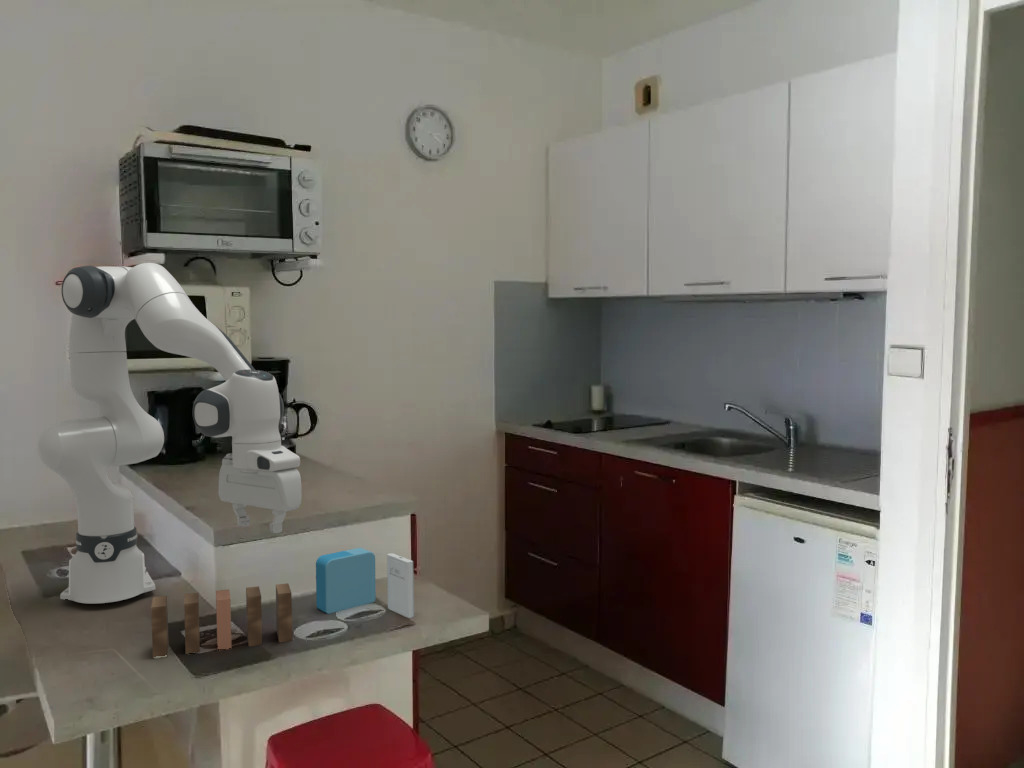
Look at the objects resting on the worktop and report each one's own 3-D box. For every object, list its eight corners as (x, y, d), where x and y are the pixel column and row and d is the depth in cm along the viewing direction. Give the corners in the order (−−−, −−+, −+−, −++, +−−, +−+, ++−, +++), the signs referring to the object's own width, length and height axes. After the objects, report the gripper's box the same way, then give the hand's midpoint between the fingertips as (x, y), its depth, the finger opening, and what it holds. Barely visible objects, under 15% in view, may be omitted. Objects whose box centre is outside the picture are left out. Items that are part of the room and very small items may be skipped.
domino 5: (279, 645, 158) (278, 593, 157) (276, 634, 163) (275, 584, 163) (292, 644, 159) (291, 592, 158) (289, 633, 164) (288, 583, 163)
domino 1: (152, 661, 150) (151, 607, 149) (154, 649, 156) (153, 597, 155) (167, 660, 151) (165, 605, 150) (168, 647, 156) (167, 595, 156)
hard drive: (393, 609, 178) (392, 552, 177) (415, 620, 171) (414, 560, 171) (386, 611, 176) (386, 554, 176) (408, 622, 170) (408, 562, 169)
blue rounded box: (365, 599, 184) (364, 546, 183) (376, 604, 181) (375, 550, 180) (316, 612, 176) (315, 556, 175) (326, 617, 173) (325, 560, 172)
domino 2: (185, 657, 152) (184, 603, 151) (186, 645, 158) (184, 593, 157) (199, 655, 153) (198, 602, 152) (199, 644, 158) (198, 592, 158)
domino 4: (248, 649, 156) (247, 597, 155) (247, 638, 161) (246, 587, 161) (262, 647, 157) (261, 595, 156) (260, 636, 162) (259, 586, 161)
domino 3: (217, 653, 154) (216, 600, 153) (217, 641, 159) (215, 590, 159) (231, 651, 155) (230, 598, 154) (230, 640, 160) (229, 589, 160)
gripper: (208, 454, 160) (211, 525, 161) (279, 462, 148) (281, 539, 149) (236, 450, 165) (238, 519, 166) (306, 458, 153) (308, 532, 154)
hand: (259, 529), depth 157 cm, fingers open, 8 cm apart
